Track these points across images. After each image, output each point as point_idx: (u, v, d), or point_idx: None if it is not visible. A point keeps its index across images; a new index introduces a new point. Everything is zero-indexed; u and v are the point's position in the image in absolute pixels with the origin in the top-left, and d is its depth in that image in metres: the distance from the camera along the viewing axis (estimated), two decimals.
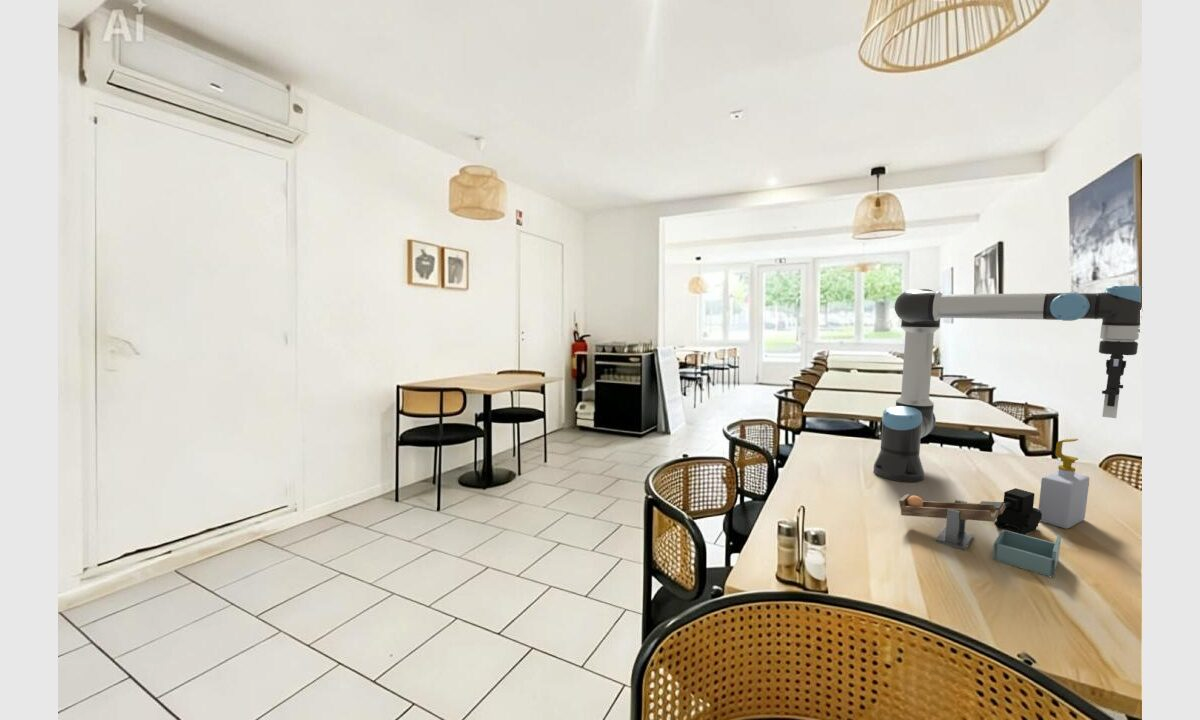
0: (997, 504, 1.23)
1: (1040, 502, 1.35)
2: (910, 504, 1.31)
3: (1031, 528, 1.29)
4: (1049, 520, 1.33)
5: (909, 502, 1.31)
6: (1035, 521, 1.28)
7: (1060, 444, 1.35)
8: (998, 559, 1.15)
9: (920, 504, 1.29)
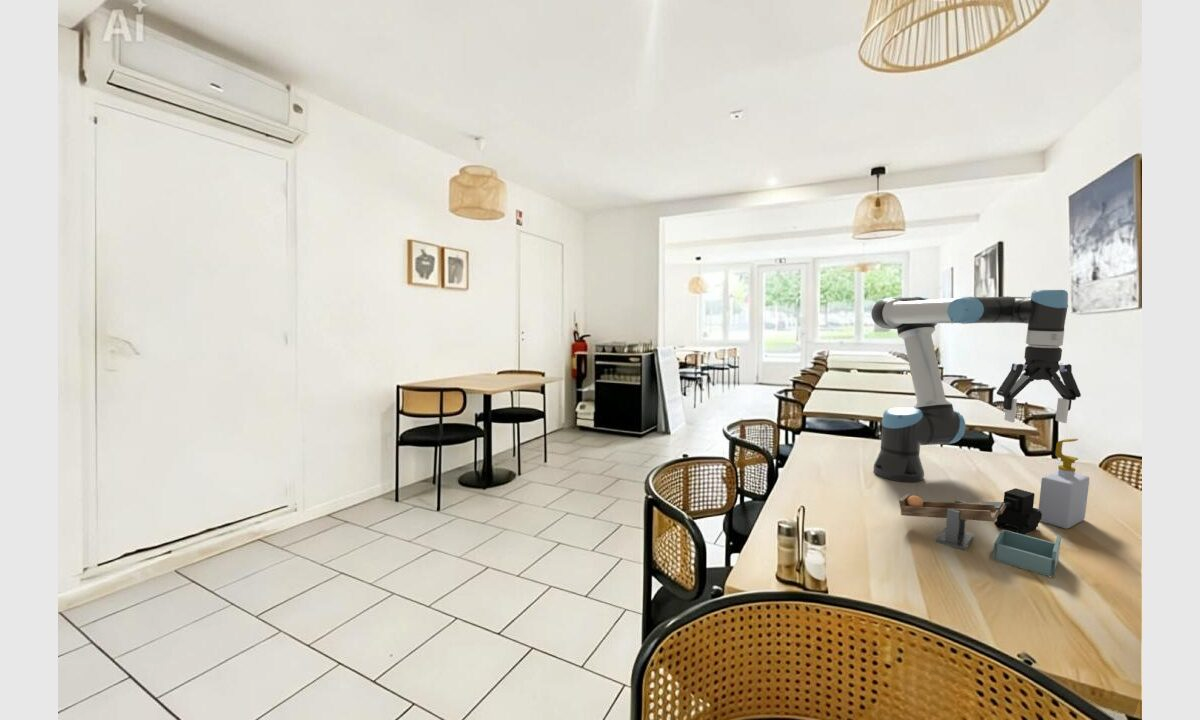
0: (997, 504, 1.23)
1: (1040, 502, 1.35)
2: (910, 504, 1.31)
3: (1031, 528, 1.29)
4: (1049, 520, 1.33)
5: (909, 502, 1.31)
6: (1035, 521, 1.28)
7: (1060, 444, 1.35)
8: (998, 559, 1.15)
9: (920, 504, 1.29)
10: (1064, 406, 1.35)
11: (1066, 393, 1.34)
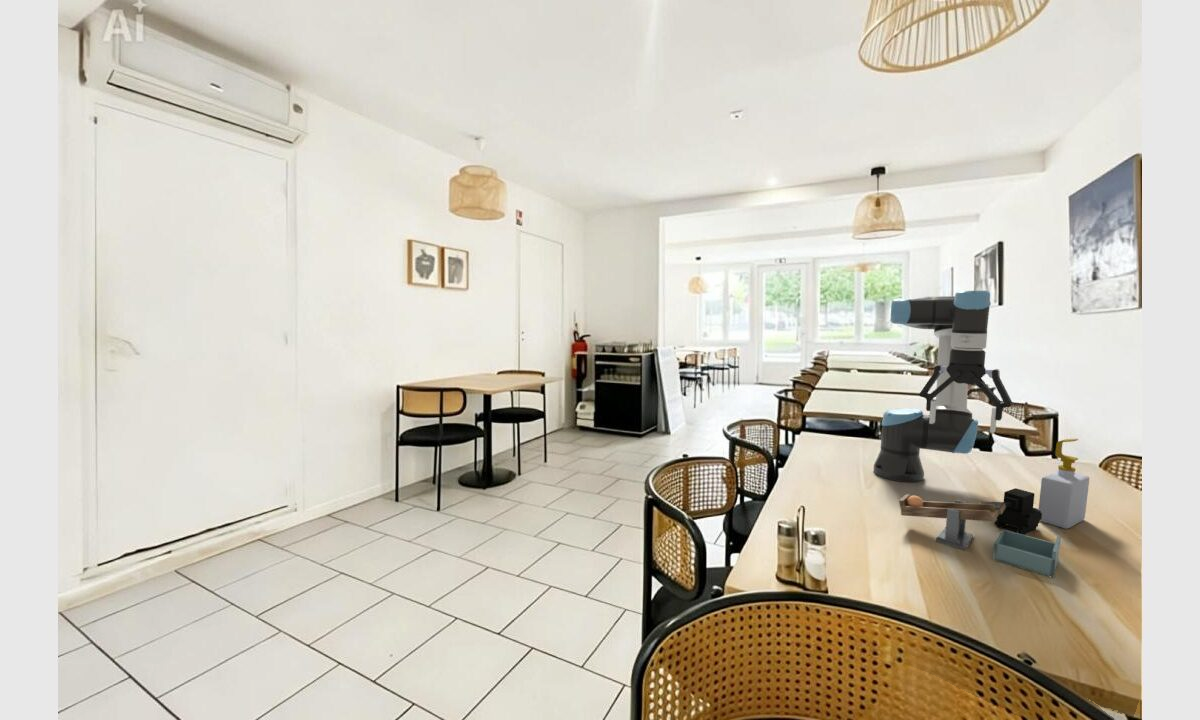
0: (997, 504, 1.23)
1: (1040, 502, 1.35)
2: (910, 504, 1.31)
3: (1031, 528, 1.29)
4: (1049, 520, 1.33)
5: (909, 502, 1.31)
6: (1035, 521, 1.28)
7: (1060, 444, 1.35)
8: (998, 559, 1.15)
9: (920, 504, 1.29)
10: None
11: (992, 401, 1.26)
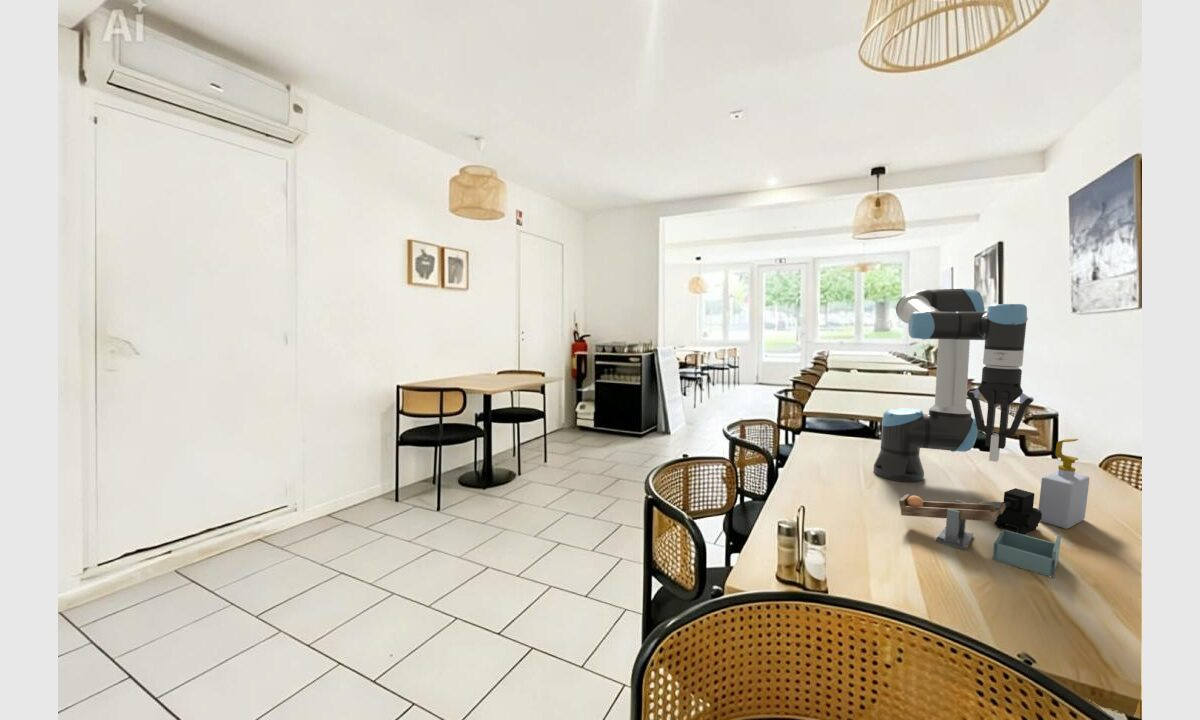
0: (997, 504, 1.23)
1: (1040, 502, 1.35)
2: (910, 504, 1.31)
3: (1031, 528, 1.29)
4: (1049, 520, 1.33)
5: (909, 502, 1.31)
6: (1035, 521, 1.28)
7: (1060, 444, 1.35)
8: (998, 559, 1.15)
9: (920, 504, 1.29)
10: None
11: (1000, 426, 1.20)
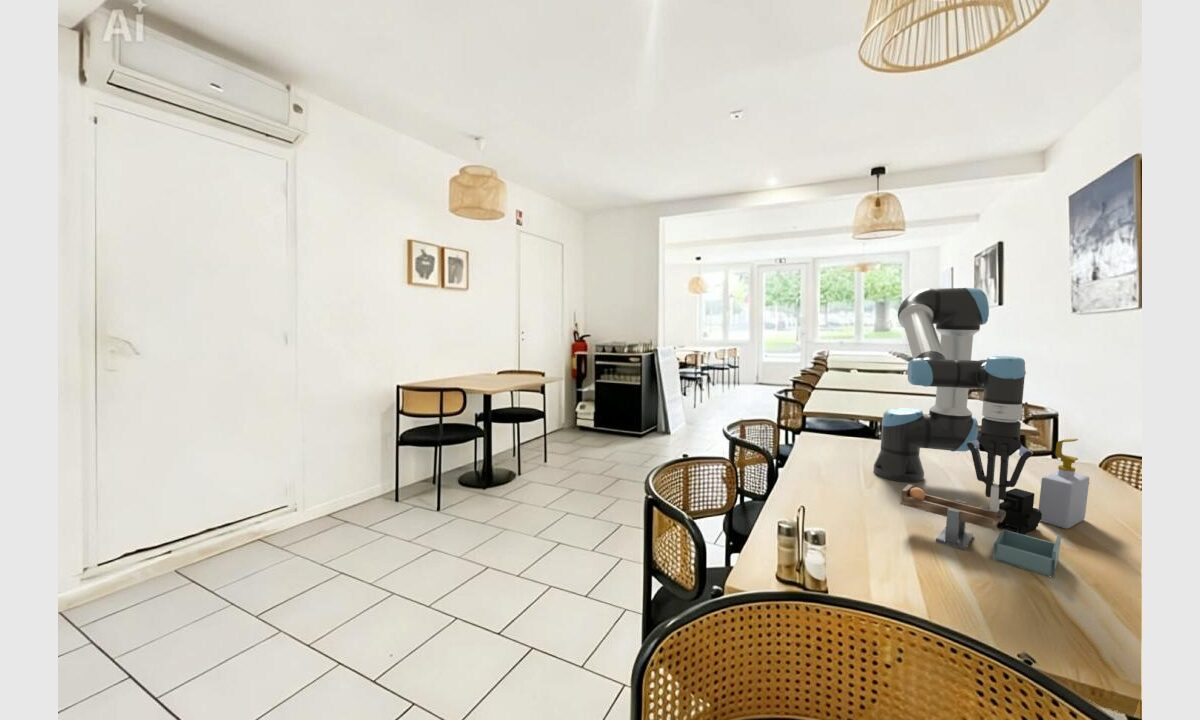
0: (999, 512, 1.23)
1: (1040, 502, 1.35)
2: (912, 495, 1.30)
3: (1031, 528, 1.29)
4: (1049, 520, 1.33)
5: (911, 493, 1.30)
6: (1035, 521, 1.28)
7: (1060, 444, 1.35)
8: (998, 559, 1.15)
9: (922, 497, 1.29)
10: None
11: (1000, 478, 1.21)
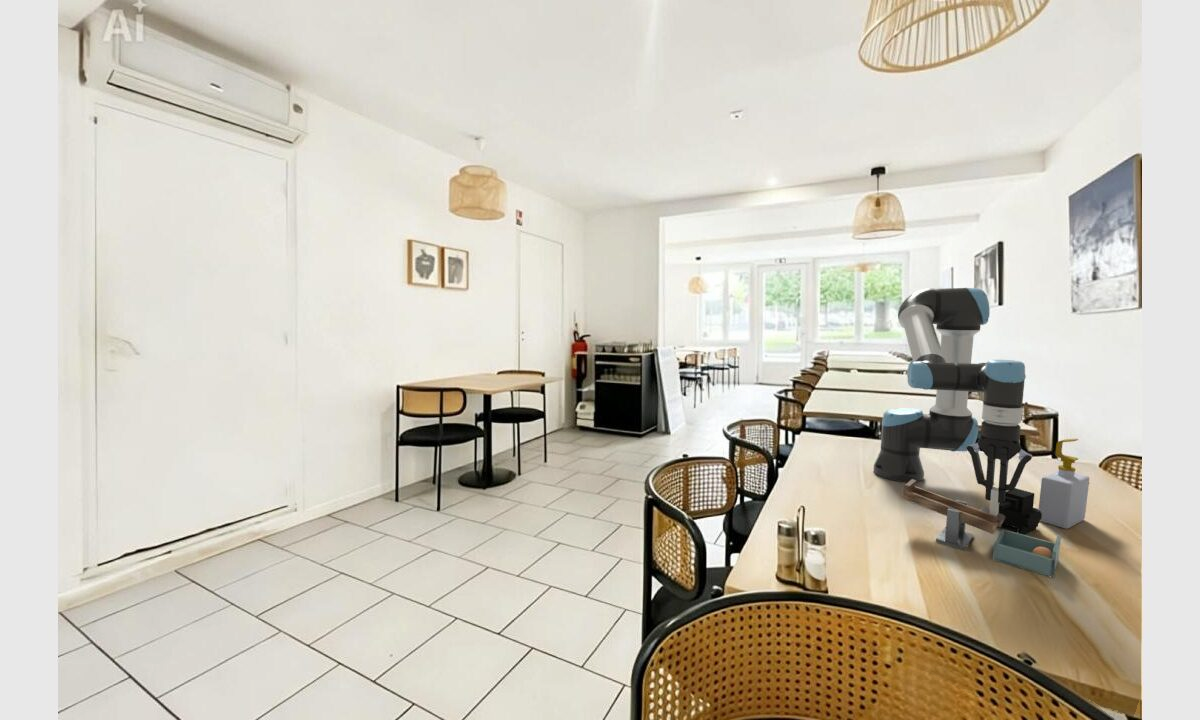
0: (999, 516, 1.23)
1: (1040, 502, 1.35)
2: (1043, 555, 1.11)
3: (1031, 528, 1.29)
4: (1049, 520, 1.33)
5: (1046, 556, 1.11)
6: (1035, 521, 1.28)
7: (1060, 444, 1.35)
8: (998, 559, 1.15)
9: None
10: None
11: (1000, 481, 1.21)
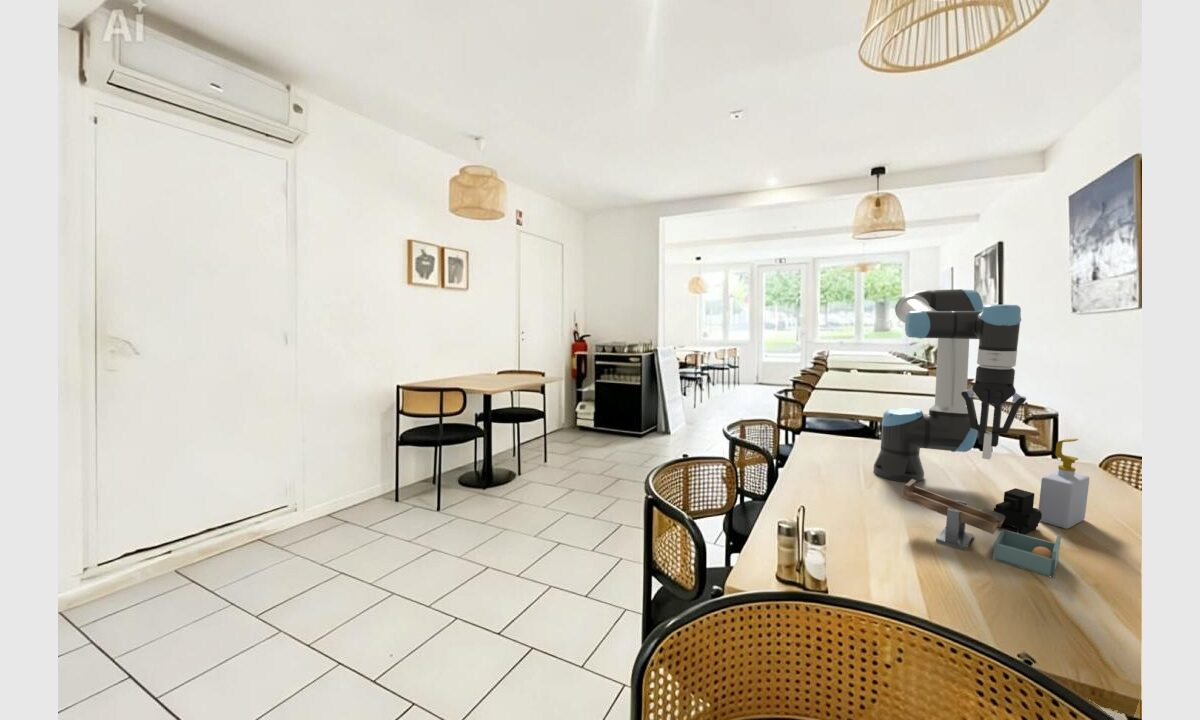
0: (999, 516, 1.23)
1: (1040, 502, 1.35)
2: (1043, 555, 1.12)
3: (1031, 528, 1.29)
4: (1049, 520, 1.33)
5: (1046, 556, 1.11)
6: (1035, 521, 1.28)
7: (1060, 444, 1.35)
8: (998, 559, 1.15)
9: None
10: None
11: (994, 425, 1.23)
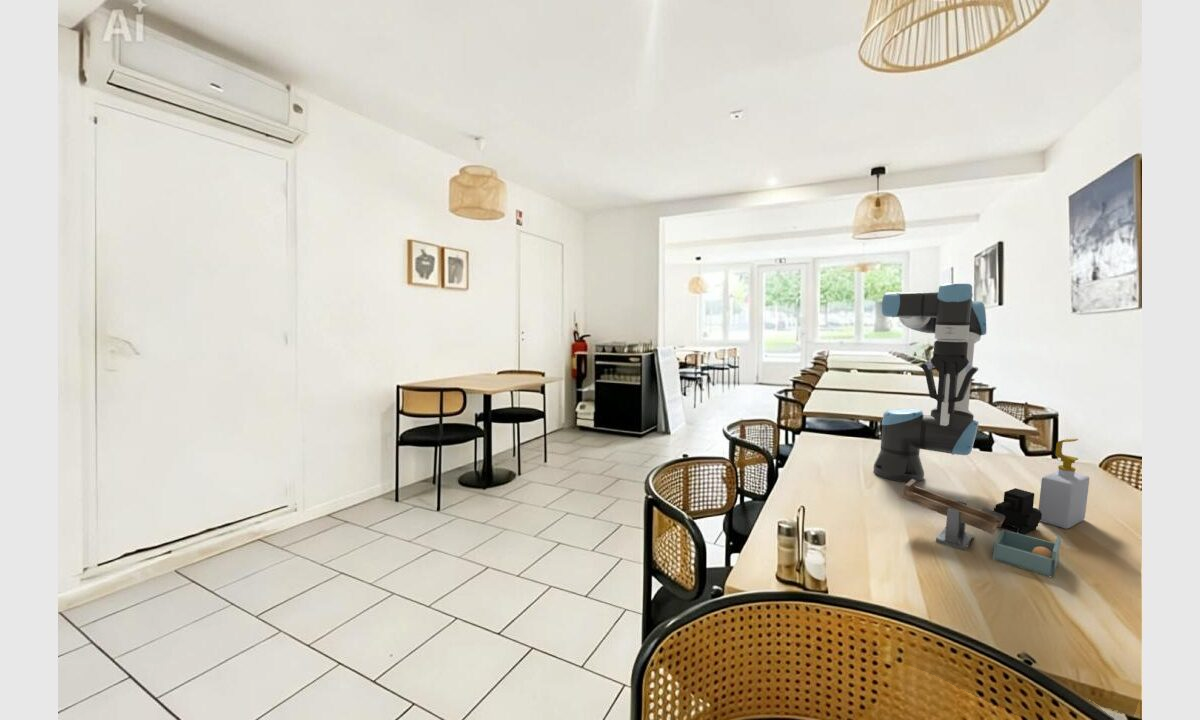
0: (999, 516, 1.23)
1: (1040, 502, 1.35)
2: (1043, 555, 1.12)
3: (1031, 528, 1.29)
4: (1049, 520, 1.33)
5: (1046, 556, 1.11)
6: (1035, 521, 1.28)
7: (1060, 444, 1.35)
8: (998, 559, 1.15)
9: None
10: None
11: (949, 394, 1.34)
